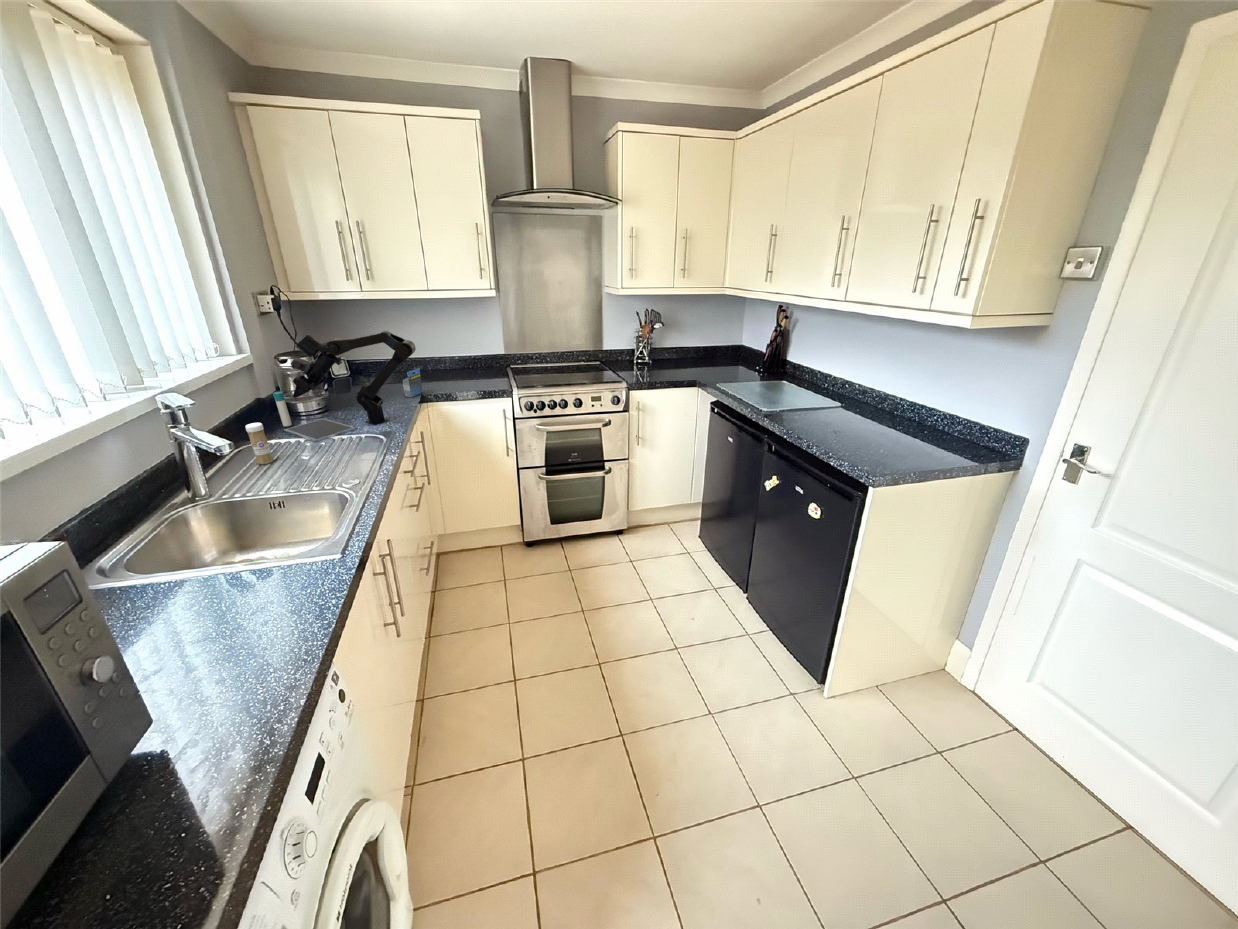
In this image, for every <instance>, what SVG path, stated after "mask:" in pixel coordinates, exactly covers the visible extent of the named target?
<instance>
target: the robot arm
mask: <svg viewBox="0 0 1238 929" xmlns="http://www.w3.org/2000/svg"><path fill="white" fill-rule="evenodd" d="M382 343H383V344H384V345H386V346H387V347H389V348H390V349H391V350H393V351H394V352H393V354H392V356H391V359H390V360H389V361H388V362H387V363H386V364H385V366H384V367H383V368H382V369H381V371H380V372H379V373H378V374H377V376H376V377H375V378H374V379H373V381H371V383H369V382H368V381H367V382H365V383H363V385H362V386H361V388H360V389H359V390H358V391H357V392H356V394H357V395H356V397H355V399H356V402H357V403H358V404H359V405H360V406H361V407H362V409H363V410H364V411H365V412H366V415H367V420H365V423H367V424H370V425H374V426H376V425H378V424H382V423H385V422H388V421H389V418H385V414H384V409H383V406H382V405H383V403H384V398H382V397H381V396H379V394H380V391H381V389H382V387H383V386H384V385H385V383H386V382H387V381H388V380H389V379H390V377H391V376H392V375H393V374H394V373H395V371H396V370H397V369H398V368H399V367H400V365H401V364H403V363H404V362H405V361H406V360H407V359H408V358H410V357H411V356H412V355H413V354H414V353H415V352H416V350H417V348H416V345H415V343H414V342H413V341H412V340H410V339H404V338H403V337H401V336H398V335H396V334H394V333H392V332H390V331H389V330H383V331H380V332H376V333H375V332H374V333H370V334H365V335H361V336H360V335H359V336H356V337H335V338H334V339H331V340H328V341H327V342H323V343H321V342H320V341H319V340H317V339H316V338H314V336H312V335H311V334H310V333H307V334H306V335H305V336H304V337H303V338H302V339H301V340H300V341H298V342H297V344H296V345H295V347H296V349H298V350H299V351H301V352H302V353H304V354H305V355H306V356H308V357H309V358H312V357H314V358H315V360H314V361H313V362H311V361H309V360H306V359H303V358H300V357H294V358H293V359H292V360H291V362H290V363H289V364H290V365H291V366H290V368H291V369H294V370H295V369H296V370H298V371H301V372H302V374H299V375H297V376H295V377H294V378H293V380H292V383H293V385H295V388H294V392H293V395H292V397H293V398H294V399H297V398H299V397H301V396H302V395H305V394H307V393H309V392H310V391H312V390H313V389H314V388H316V387H317V386H319V385H321V384H323V383H325V381H327V380H328V379H329V373H330V370H331V368H332V367H333V366H334V365H335V364H336V365H337V366H341V364H343V360H342V357H341V355H342V354H345V353H348V352H350V351H353V350H355V349H359V348H364V347H369V346H373V345H378V344H382Z"/></svg>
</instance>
